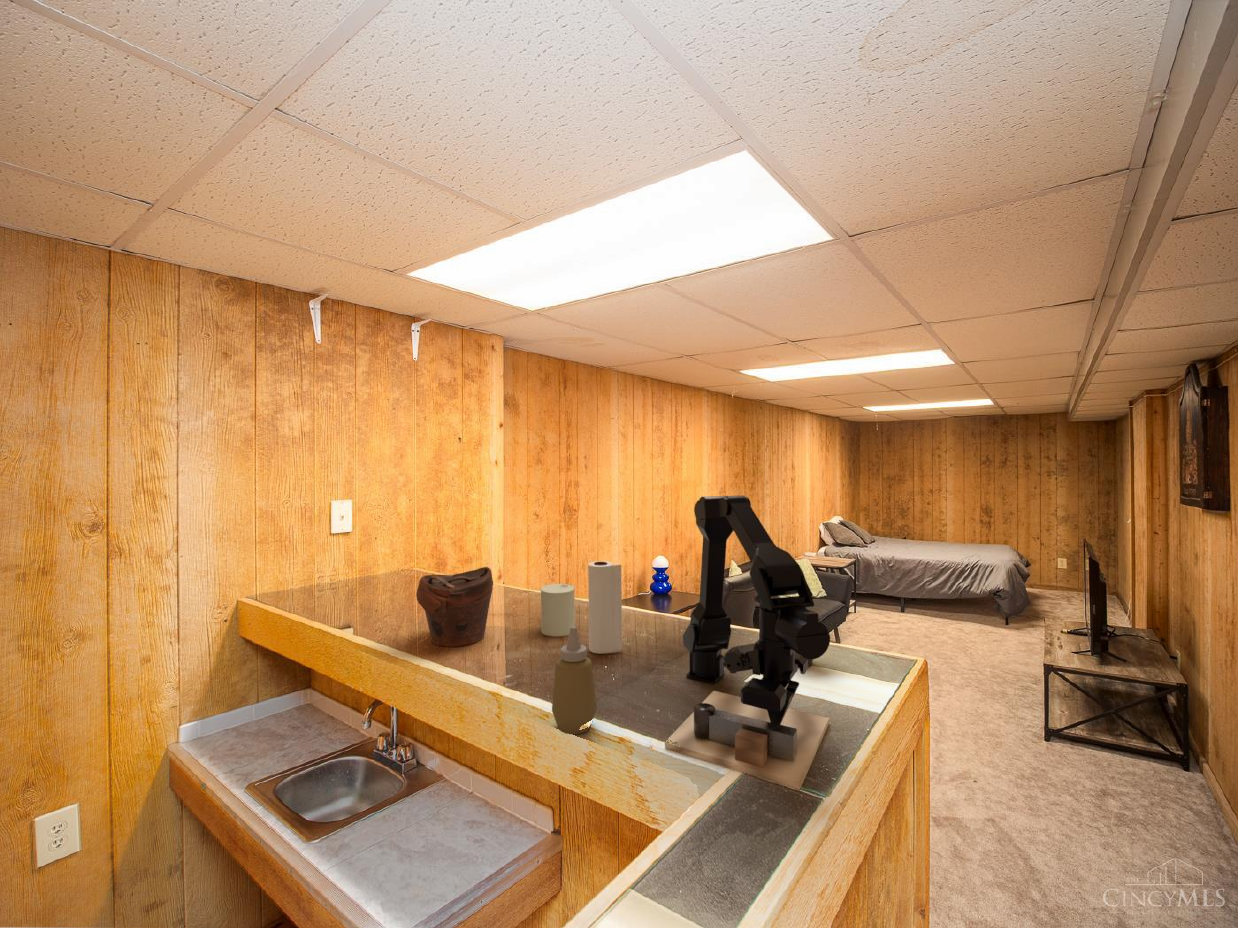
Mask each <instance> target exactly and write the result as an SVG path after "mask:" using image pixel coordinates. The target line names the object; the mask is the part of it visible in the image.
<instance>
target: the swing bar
mask: <svg viewBox="0 0 1238 928" xmlns="http://www.w3.org/2000/svg"><path fill="white" fill-rule="evenodd" d="M693 712H694V735H695V736H696V737H698V738H701V739H712V740H715V741H719V742H723V743H727V744H730V745H734V746H735V734H736V733H737V732H738V730H739V729H740V728H742V729H745V730H749V731H753V732H757V733H760V734H764V735H767V754H768V755H772V756H775V757H779V758H783V759H787V760H790V761H794V759H795V757H796V754H797V729H796V728H792V727H788V726H783V725H779V724H775V723H771V722H767V721H762V720H758V719H754V718H750V717H746V716H741V715H737V714H733V713H729V712H725V711H720V710H716V709H715V707H714V706H713V705H711V704H707V703H702V702H701V703H697V704H695V705H694V706H693Z"/></svg>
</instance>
